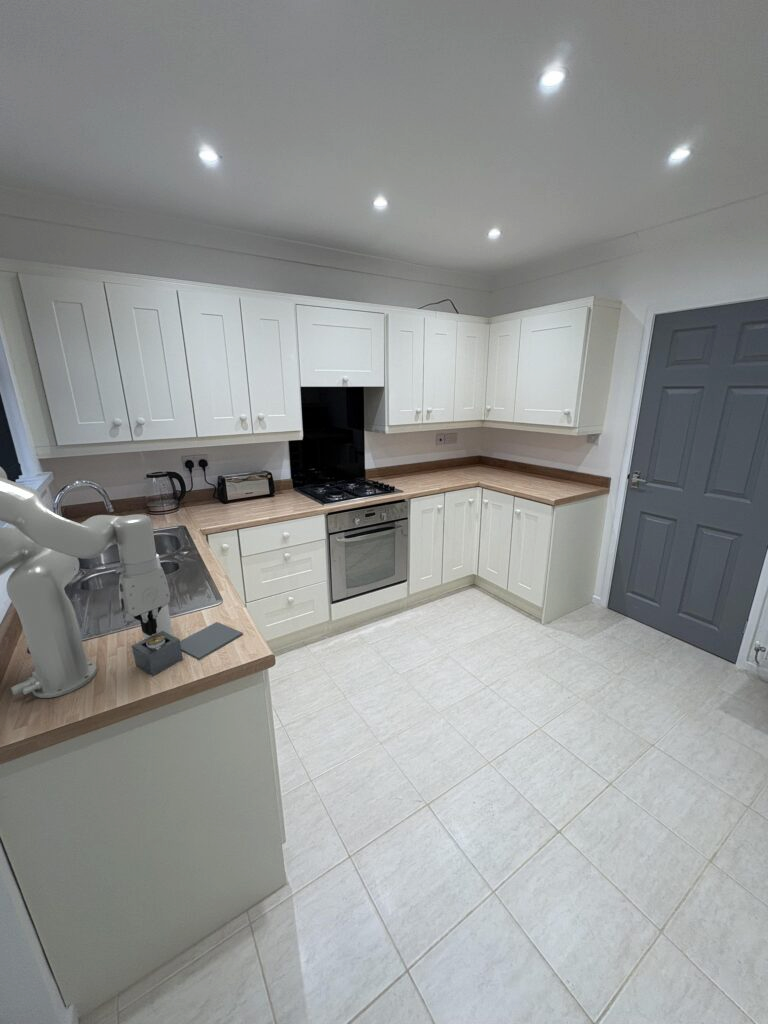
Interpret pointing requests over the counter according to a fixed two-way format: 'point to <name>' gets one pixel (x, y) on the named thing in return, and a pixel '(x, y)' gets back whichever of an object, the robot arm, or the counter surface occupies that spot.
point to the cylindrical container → (162, 617)
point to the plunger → (155, 641)
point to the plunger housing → (157, 655)
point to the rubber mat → (208, 640)
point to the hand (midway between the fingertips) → (150, 632)
